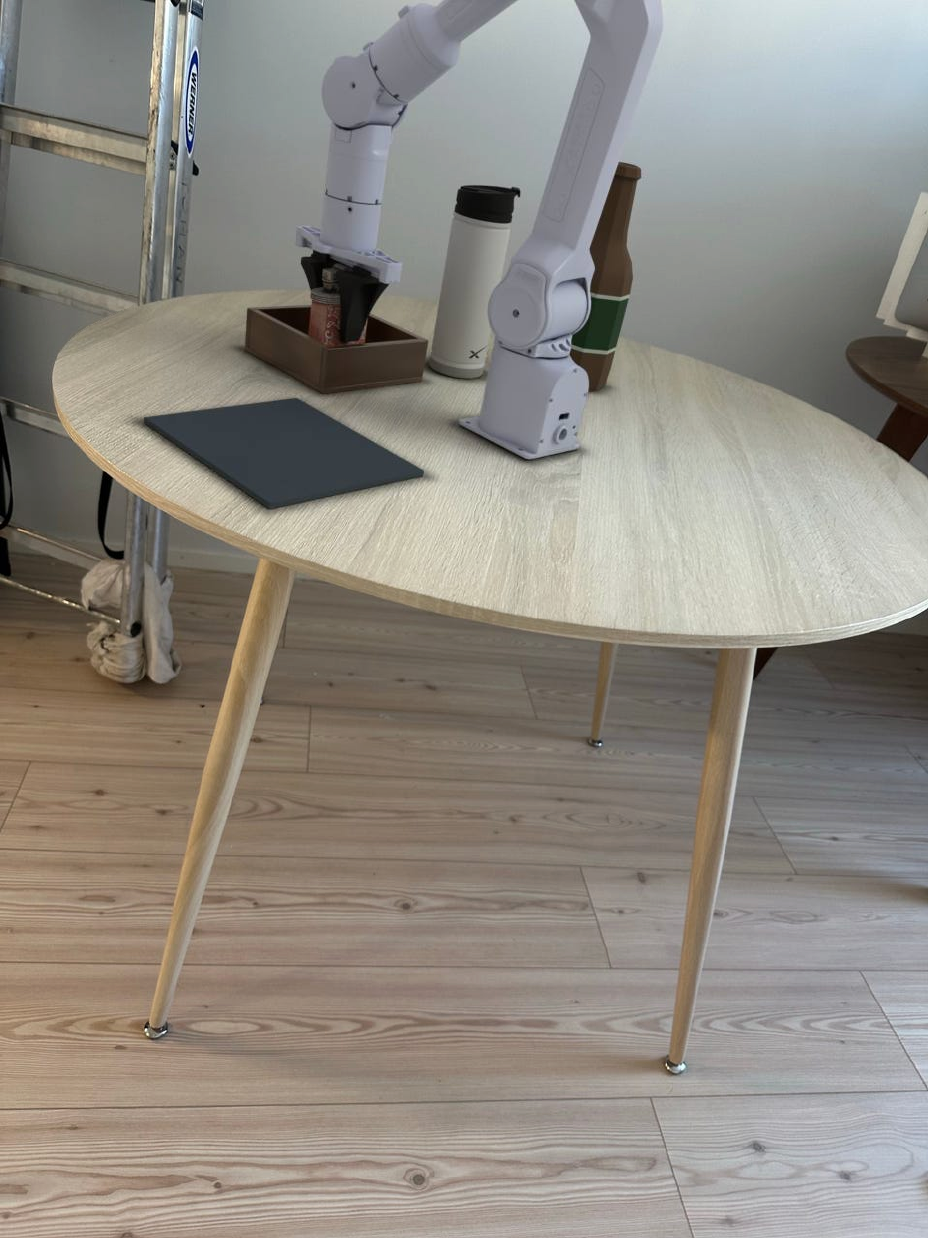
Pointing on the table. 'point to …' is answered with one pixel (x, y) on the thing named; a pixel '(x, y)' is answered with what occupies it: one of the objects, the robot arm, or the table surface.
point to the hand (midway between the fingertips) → (337, 334)
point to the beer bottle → (608, 280)
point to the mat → (283, 450)
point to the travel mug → (471, 278)
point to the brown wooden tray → (334, 351)
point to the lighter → (329, 310)
